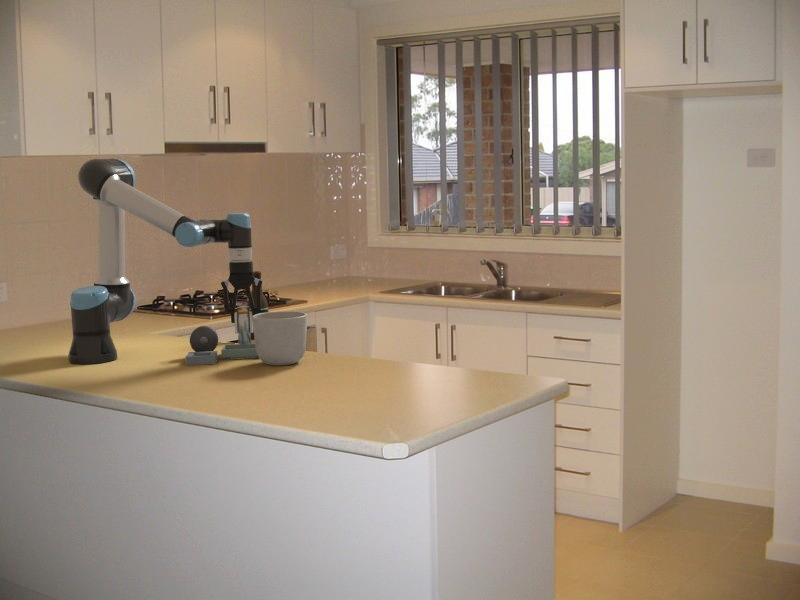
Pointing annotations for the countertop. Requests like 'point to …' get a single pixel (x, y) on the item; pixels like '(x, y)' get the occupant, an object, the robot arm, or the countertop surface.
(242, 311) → the pin
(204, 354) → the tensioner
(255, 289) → the beer bottle
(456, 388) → the countertop surface
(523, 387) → the countertop surface
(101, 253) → the robot arm
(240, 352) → the tray
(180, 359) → the countertop surface
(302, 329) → the planter
